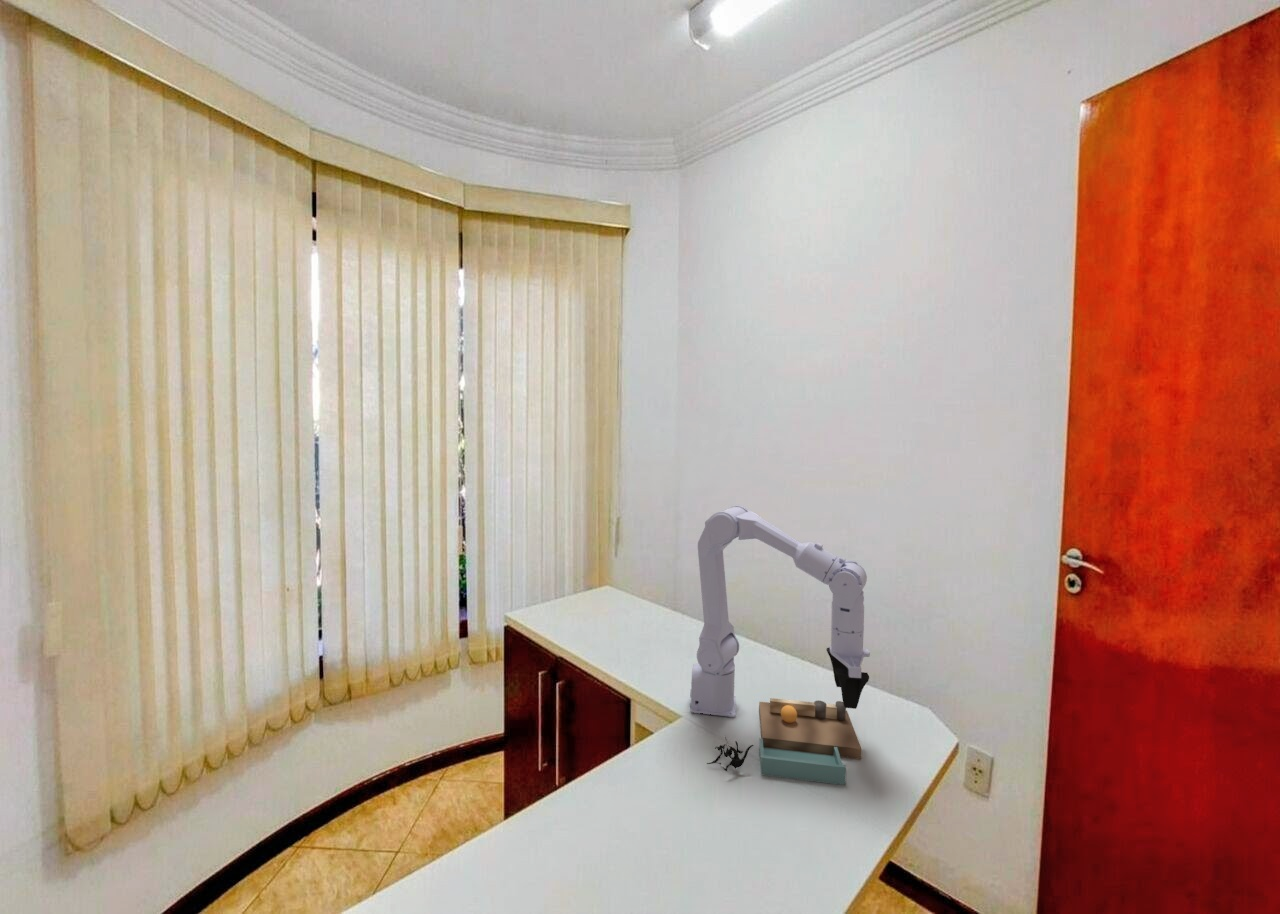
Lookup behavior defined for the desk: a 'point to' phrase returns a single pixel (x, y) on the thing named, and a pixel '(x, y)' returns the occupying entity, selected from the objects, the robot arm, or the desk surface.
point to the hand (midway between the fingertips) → (845, 696)
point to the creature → (736, 760)
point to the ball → (788, 714)
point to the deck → (808, 734)
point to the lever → (811, 708)
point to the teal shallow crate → (802, 765)
